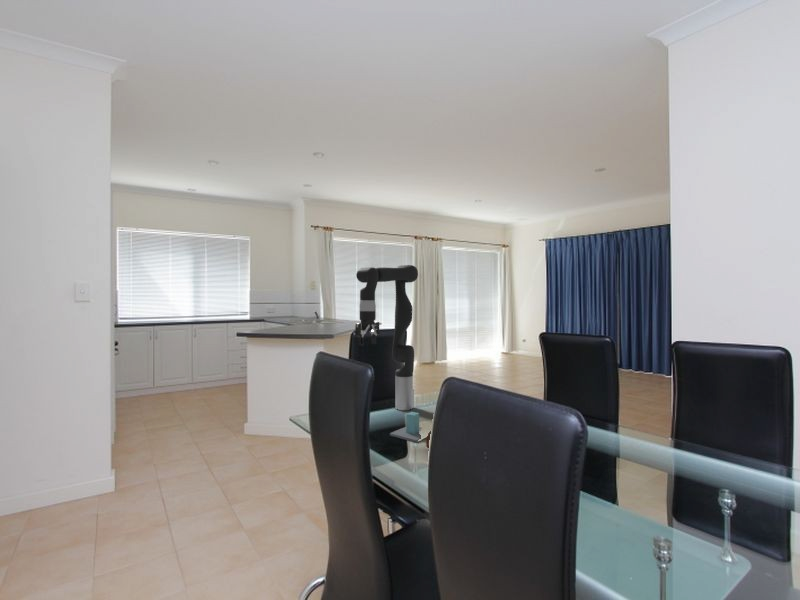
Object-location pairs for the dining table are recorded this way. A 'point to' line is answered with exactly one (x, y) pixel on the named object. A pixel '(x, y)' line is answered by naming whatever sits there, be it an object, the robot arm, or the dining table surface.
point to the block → (412, 422)
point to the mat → (406, 435)
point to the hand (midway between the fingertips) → (367, 344)
